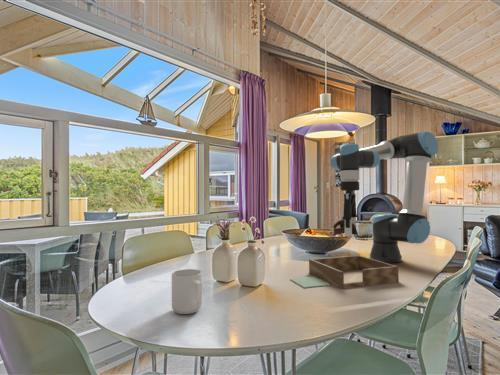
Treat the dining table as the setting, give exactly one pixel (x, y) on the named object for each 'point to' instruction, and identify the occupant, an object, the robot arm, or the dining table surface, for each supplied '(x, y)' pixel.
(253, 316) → the dining table surface
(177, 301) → the mug
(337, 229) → the brown hollow vessel
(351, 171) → the robot arm
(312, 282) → the mat
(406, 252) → the dining table surface
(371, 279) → the crate
